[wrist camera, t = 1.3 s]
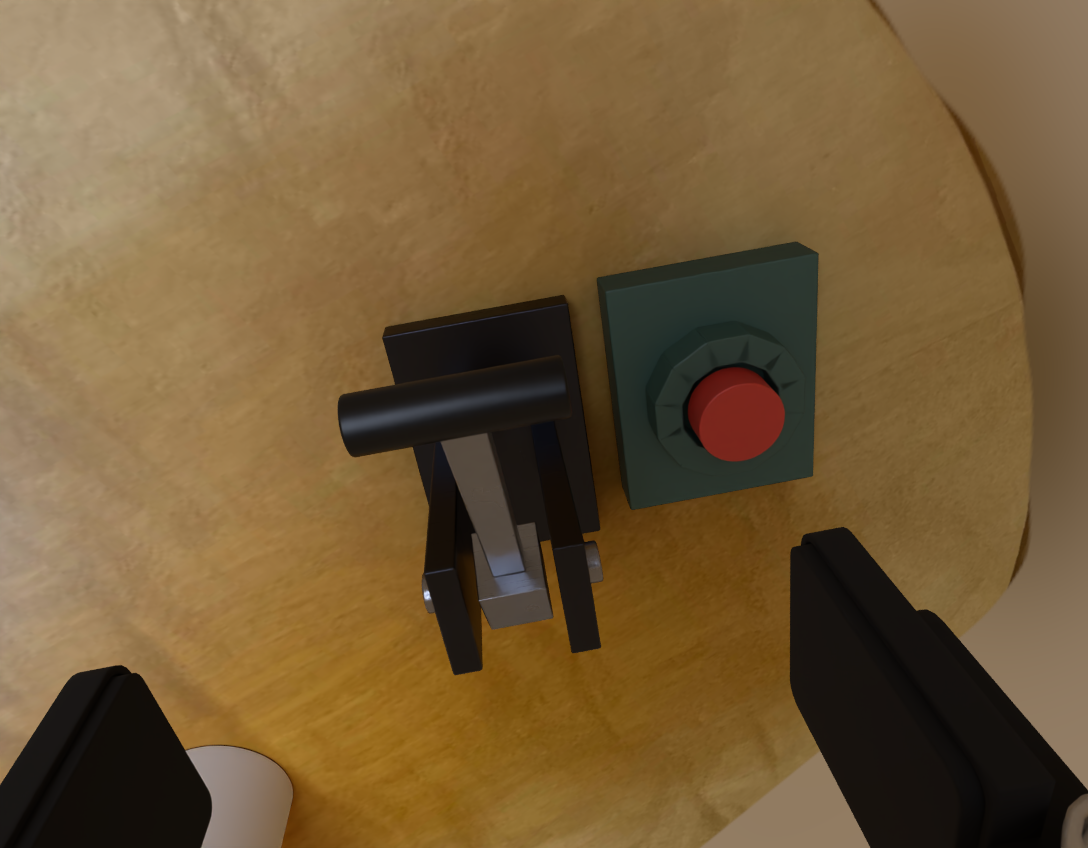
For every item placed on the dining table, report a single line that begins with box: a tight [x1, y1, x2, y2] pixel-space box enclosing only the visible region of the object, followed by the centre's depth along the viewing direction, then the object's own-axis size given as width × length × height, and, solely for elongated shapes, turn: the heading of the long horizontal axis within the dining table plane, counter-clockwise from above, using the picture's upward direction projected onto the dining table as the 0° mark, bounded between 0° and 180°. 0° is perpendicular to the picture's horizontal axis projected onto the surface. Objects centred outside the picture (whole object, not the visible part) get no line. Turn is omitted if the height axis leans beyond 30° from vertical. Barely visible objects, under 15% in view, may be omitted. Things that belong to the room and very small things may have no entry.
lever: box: [338, 355, 572, 629], centre depth 20 cm, size 12×5×2 cm, turn 9°
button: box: [688, 367, 785, 461], centre depth 30 cm, size 4×4×2 cm
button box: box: [597, 242, 818, 510], centre depth 32 cm, size 11×9×4 cm
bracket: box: [382, 295, 603, 675], centre depth 28 cm, size 12×8×13 cm, turn 9°
